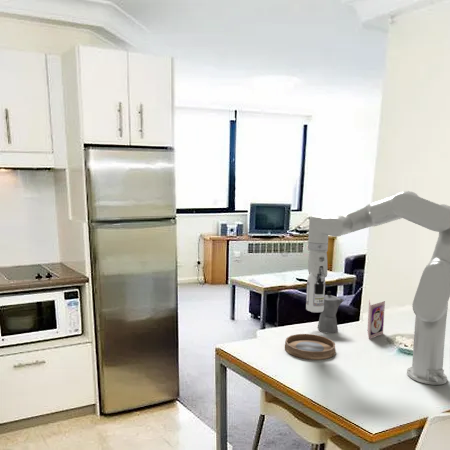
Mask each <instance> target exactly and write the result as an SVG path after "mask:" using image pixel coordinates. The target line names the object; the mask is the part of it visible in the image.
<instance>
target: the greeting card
mask: <svg viewBox="0 0 450 450" xmlns="http://www.w3.org/2000/svg"><path fill="white" fill-rule="evenodd" d="M385 305H386V301H380V302H377V303H373V304H371V300H370V299H369V301H368V310H367V311H368V313H367V329H366V330H367V335H368V337H367V338H368V339H369V340H370V339H374V338H375V337H378V336H381V335H383V334H384V326H385V325H384V324H385V323H384V322H385Z"/></svg>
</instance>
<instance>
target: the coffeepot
mask: <svg viewBox="0 0 450 450" xmlns="http://www.w3.org/2000/svg"><path fill="white" fill-rule="evenodd" d="M331 293H332V291H330V290H329V291H327V294H325V297H324V310H323V311H322V312H320V314H319V319H318V323H317V327H316V328H317V330H318V331H320V332H321V333H325V334H334V333H337V332H338V331H339V330H338V321H337V313H338V309H339V307H340V305H341V304H342V303H343V302H345V300H344V299H343V298H340V297H338V296H335V295H332V294H331ZM315 313H318V312H315Z"/></svg>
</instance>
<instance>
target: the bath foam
mask: <svg viewBox="0 0 450 450" xmlns="http://www.w3.org/2000/svg"><path fill="white" fill-rule="evenodd" d="M318 276H321V275H318ZM306 280H307V281H306V299H305V310H306V311H308V312H311V313H316V312H317V313H321V312H322V311H323V310H324V297H325V295H326V292H325V291H326V278H325V279H324V280H325V281H324V290H323V294H315V284H316V277H315V276H313V274H312V273H310V274H309V273H308V276H307V279H306ZM318 280H319V278H318Z"/></svg>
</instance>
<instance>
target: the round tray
mask: <svg viewBox="0 0 450 450" xmlns="http://www.w3.org/2000/svg"><path fill="white" fill-rule="evenodd" d="M284 350H285V352H286V353H287V354H289V355H291V356H293V357H295V358H298V359H302V360H307V361H308V360H309V361H310V360H311V361H322V360H323V361H324V360H328V359H331V358H333V357H334V356H335V355H336V351H337V350H336V343H335V342H334V341H333V340H332V339H330V338H328V337H326V336H322V335H318V334H313V333H312V334H311V333H298V334H292V335H290V336H287V337H285V341H284Z"/></svg>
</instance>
